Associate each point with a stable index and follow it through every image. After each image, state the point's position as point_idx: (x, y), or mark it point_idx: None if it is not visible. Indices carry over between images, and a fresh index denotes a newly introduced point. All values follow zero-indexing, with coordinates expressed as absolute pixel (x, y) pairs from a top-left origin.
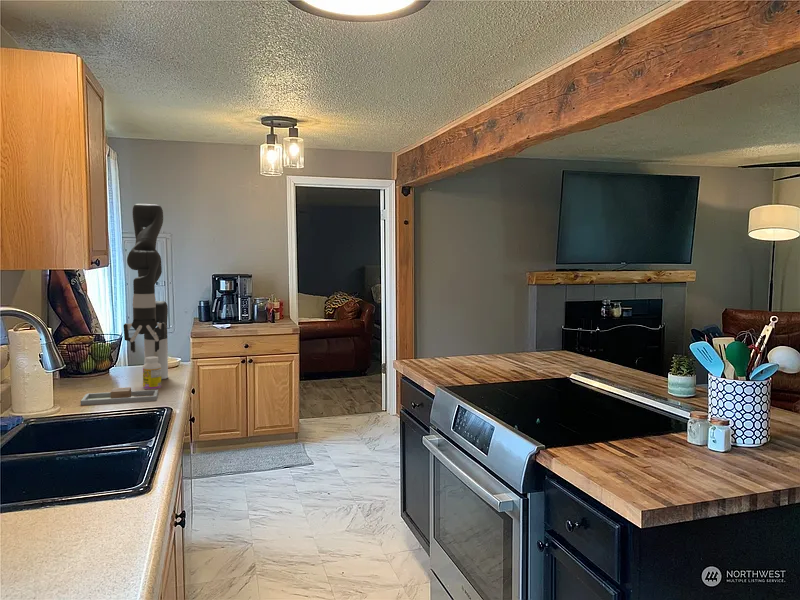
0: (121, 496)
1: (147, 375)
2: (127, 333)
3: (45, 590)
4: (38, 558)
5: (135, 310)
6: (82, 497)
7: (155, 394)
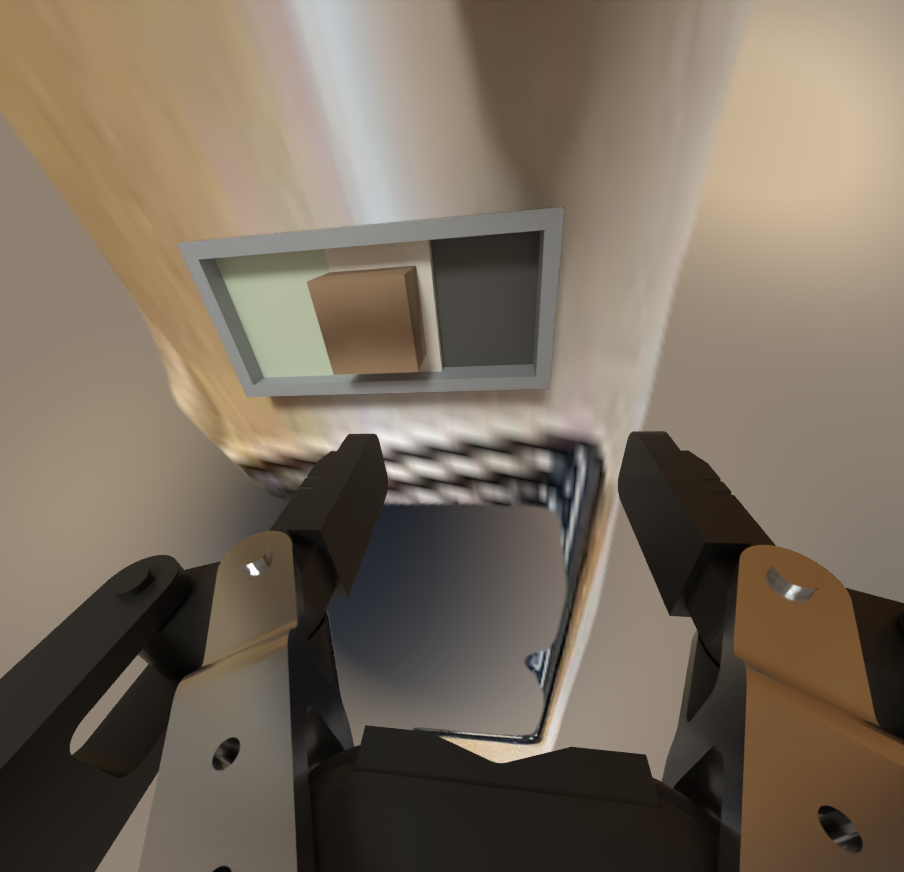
0: (512, 741)
1: None
2: (139, 791)
3: None
4: None
5: None
6: (475, 734)
7: (546, 346)
